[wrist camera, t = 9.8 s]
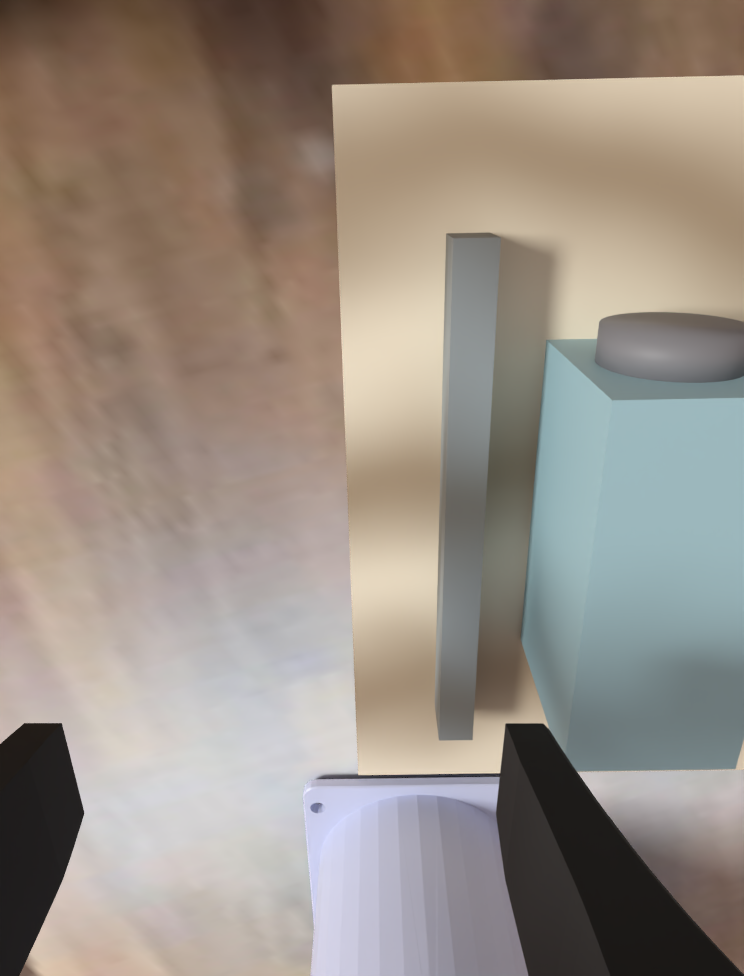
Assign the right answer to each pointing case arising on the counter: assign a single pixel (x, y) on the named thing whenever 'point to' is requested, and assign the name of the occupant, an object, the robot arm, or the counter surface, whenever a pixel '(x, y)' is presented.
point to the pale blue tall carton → (640, 544)
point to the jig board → (495, 354)
